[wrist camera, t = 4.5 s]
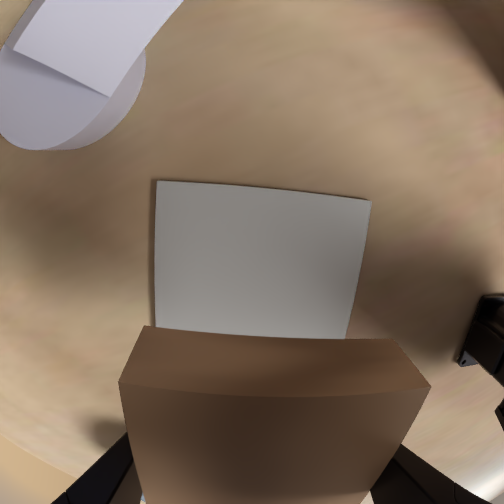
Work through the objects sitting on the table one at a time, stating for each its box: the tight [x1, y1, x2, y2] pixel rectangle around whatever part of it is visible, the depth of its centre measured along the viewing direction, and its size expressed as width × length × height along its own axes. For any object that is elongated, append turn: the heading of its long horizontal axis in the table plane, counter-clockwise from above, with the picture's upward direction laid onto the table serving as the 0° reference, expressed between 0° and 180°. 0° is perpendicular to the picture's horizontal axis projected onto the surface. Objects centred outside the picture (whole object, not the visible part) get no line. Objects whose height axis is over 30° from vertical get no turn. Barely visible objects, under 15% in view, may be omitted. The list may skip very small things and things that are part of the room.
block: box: [118, 326, 431, 504], centre depth 8 cm, size 7×7×2 cm
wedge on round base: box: [0, 0, 184, 150], centre depth 11 cm, size 9×7×13 cm
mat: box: [155, 181, 372, 339], centre depth 18 cm, size 12×10×1 cm
